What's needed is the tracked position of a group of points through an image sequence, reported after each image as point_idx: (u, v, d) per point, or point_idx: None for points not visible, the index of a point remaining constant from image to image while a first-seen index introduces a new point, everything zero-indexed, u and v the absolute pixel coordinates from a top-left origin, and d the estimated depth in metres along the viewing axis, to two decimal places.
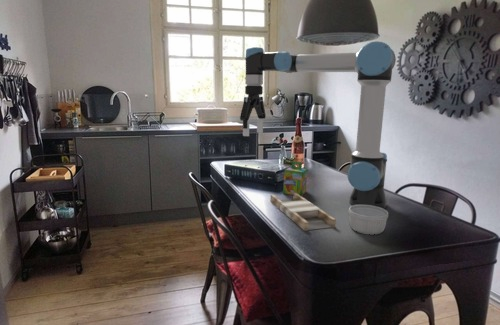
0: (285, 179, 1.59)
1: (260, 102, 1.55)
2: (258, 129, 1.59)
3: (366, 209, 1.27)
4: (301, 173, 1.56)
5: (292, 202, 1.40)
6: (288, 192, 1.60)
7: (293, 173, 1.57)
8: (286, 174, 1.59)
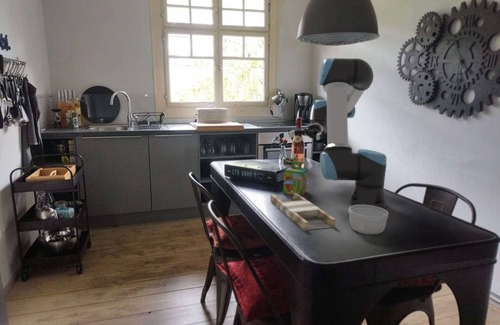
0: (285, 179, 1.59)
1: None
2: None
3: (366, 209, 1.27)
4: (301, 173, 1.56)
5: (292, 202, 1.40)
6: (288, 192, 1.60)
7: (293, 173, 1.57)
8: (286, 174, 1.59)
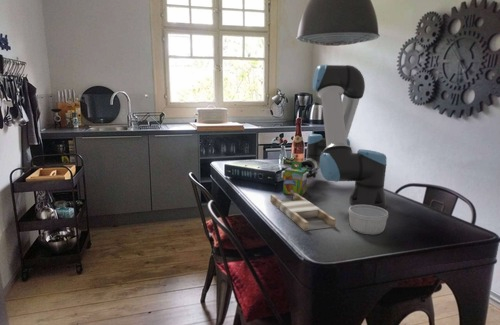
0: (285, 179, 1.59)
1: None
2: None
3: (366, 209, 1.27)
4: (301, 173, 1.56)
5: (292, 202, 1.40)
6: (288, 192, 1.60)
7: (293, 173, 1.57)
8: (285, 173, 1.59)
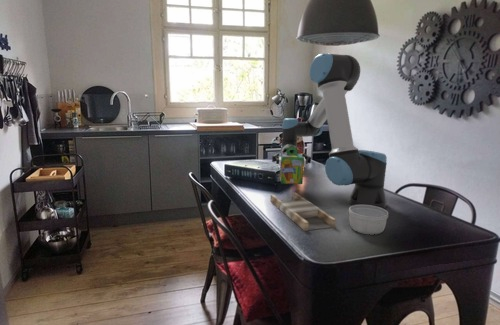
0: (284, 167, 1.43)
1: (303, 155, 1.56)
2: None
3: (366, 209, 1.27)
4: (302, 159, 1.43)
5: (292, 202, 1.40)
6: (287, 181, 1.44)
7: (292, 159, 1.43)
8: (284, 161, 1.43)
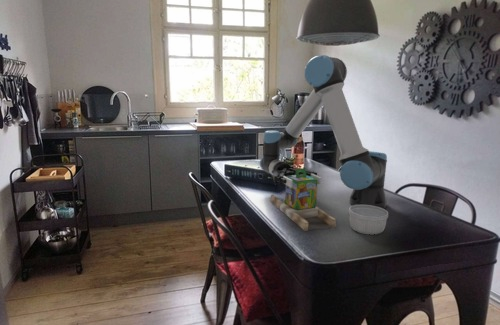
0: (299, 192, 1.29)
1: (301, 171, 1.45)
2: (317, 181, 1.34)
3: (366, 209, 1.27)
4: (315, 181, 1.32)
5: None
6: (302, 207, 1.31)
7: (307, 182, 1.30)
8: (299, 185, 1.29)
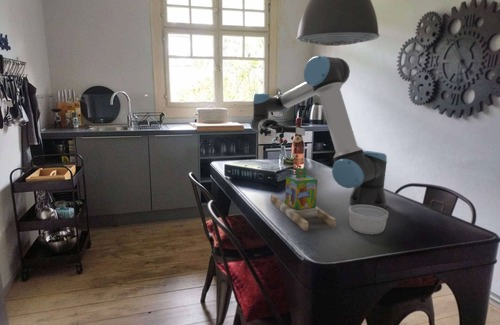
0: (299, 192, 1.29)
1: None
2: (301, 133, 1.48)
3: (366, 209, 1.27)
4: (315, 181, 1.32)
5: None
6: (302, 207, 1.31)
7: (307, 182, 1.30)
8: (299, 185, 1.29)
